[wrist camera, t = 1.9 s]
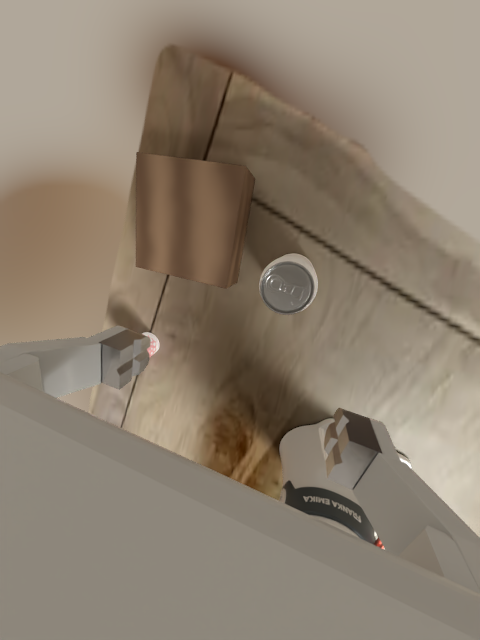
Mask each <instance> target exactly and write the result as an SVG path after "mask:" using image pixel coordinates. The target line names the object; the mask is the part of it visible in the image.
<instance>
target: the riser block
mask: <svg viewBox="0 0 480 640" xmlns="http://www.w3.org/2000/svg"><path fill="white" fill-rule="evenodd" d="M254 183H255V178H254V177H253V175H252V174H251V173H250V171H249V170H248V169H247V167H246V166H241V165H234V164H226V163H218V162H210V161H202V160H194V159H186V158H179V157H171V156H163V155H155V154H147V153H139V152H137V169H136V267H139V268H143V269H147V270H152V271H156V272H160V273H164V274H168V275H172V276H176V277H181V278H185V279H189V280H193V281H197V282H201V283H205V284H210V285H214V286H218V287H222V288H228V287H230V286H232V285H234V284H235V283H237V281H238V276H239V270H240V264H241V258H242V252H243V247H244V241H245V235H246V229H247V223H248V218H249V212H250V206H251V200H252V194H253V188H254Z"/></svg>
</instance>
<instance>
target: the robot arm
mask: <svg viewBox="0 0 480 640" xmlns="http://www.w3.org/2000/svg"><path fill="white" fill-rule="evenodd" d="M150 343H151V339H150V338H149V337H148V336H145V335H143V334H140V333H138V332H135V331H132V330H129V329H127V328H125V327H122V326H115V327H113V328H110V329H108V330H105V331H103V332H101V333H98V334H96V335H94V336H91V337H89V338H85V337H80V338H69V339H68V338H67V339H56V340H44V341H33V342H21V343H10V344H5V345H2V346H0V640H480V538H479V537H478V536H477V535H476V534H475V533H474V532H473V531H472V530H471V529H470V528H469V527H468V526H467V525H466V524H465V522H464V521H463V520H462V519H461V518H460V517H459V516H458V515H457V514H456V513H455V512H454V511H453V510H452V509H451V508H450V507H449V506H448V505H447V504H446V503H445V502H444V501H443V500H442V499H441V498H440V497H439V496H438V495H437V494H436V493H435V492H434V491H433V490H432V489H431V488H430V487H429V486H428V485H427V484H426V483H425V482H424V481H423V480H422V479H421V478H420V477H419V476H418V475H417V474H416V473H415V472H414V471H413V470H412V467H411V464H410V461H409V459H408V458H406V457H405V456H403V455H401V454H399V453H397V451H396V449H395V447H394V445H393V442H392V440H391V438H390V436H389V433H388V431H387V429H386V427H385V425H384V424H383V423H382V422H380V421H377V420H374V419H371V418H368V417H364V416H361V415H359V414H356V413H353V412H350V411H347V410H344V409H342V408H338V409H337V410H336V412H335V414H334V419H332V418H329V419H326V420H323V421H321V422H319V423H317V424H314V425H307V426H301V427H297V428H295V429H293V430H291V431H289V432H288V433H287V434H286V435H285V436H284V437H283V438H282V440H281V442H280V447H279V452H280V457H281V462H282V471H283V488H282V491H281V495H280V501H278V500H276V499H274V498H272V497H269V496H267V495H265V494H263V493H261V492H259V491H256V490H254V489H252V488H250V487H248V486H246V485H243V484H241V483H239V482H237V481H235V480H233V479H231V478H228V477H226V476H224V475H222V474H220V473H218V472H215V471H213V470H211V469H209V468H207V467H205V466H202V465H200V464H198V463H196V462H194V461H192V460H189V459H187V458H185V457H183V456H181V455H179V454H176V453H174V452H172V451H170V450H168V449H166V448H163V447H161V446H159V445H157V444H155V443H153V442H150V441H148V440H146V439H144V438H142V437H140V436H137V435H135V434H133V433H131V432H129V431H127V430H124V429H122V428H120V427H118V426H116V425H114V424H111V423H109V422H107V421H105V420H103V419H101V418H98V417H96V416H94V415H92V414H90V413H88V412H85V411H83V410H81V409H79V408H77V407H74V406H72V405H70V404H68V403H66V402H64V401H61V400H59V399H57V398H58V397H61V396H64V395H67V394H70V393H73V392H76V391H79V390H82V389H86V388H88V387H92V386H95V385H98V384H101V383H104V384H106V385H109V386H111V387H114V388H117V389H121V388H122V387H123V386H125V385H126V384H127V383H128V382H130V381H131V379H132V376H134V375H139V374H140V373H141V372H142V371H144V369H145V368H146V366H147V365H148V362H149V356H150V355H149V353H148V351H147V349H148V348H149V347H150ZM376 535H378V539H377V540H376V539H375V536H376ZM383 548H385V550H384V549H383Z"/></svg>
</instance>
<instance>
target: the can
mask: <svg viewBox="0 0 480 640" xmlns="http://www.w3.org/2000/svg"><path fill="white" fill-rule="evenodd" d="M317 289H318V279H317V275H316V272H315V270H314V267H313V265H312V263H311V262H310V261H309V259H307V258H306V257H305V256H303V255H300V254H296V253H291V254H286V255H284V256H282V257H279V258H277V259H276V260H274V261H272V262H271V263H270V264H269V265H268V266H267V267H266V268H265V269H264V271H263V273H262V275H261V277H260V282H259V291H260V295H261V297H262V300H263V302H264V303H265V304H266V306H267V307H268V308H269V309H271V310H272V311H274V312H276V313H279V314H284V315H290V314H295V313H298V312H300V311H302V310H304V309H305V308H307V307H308V306H309V305H310V304H311V303H312V301H313V300H314V298H315V296H316V293H317Z"/></svg>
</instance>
